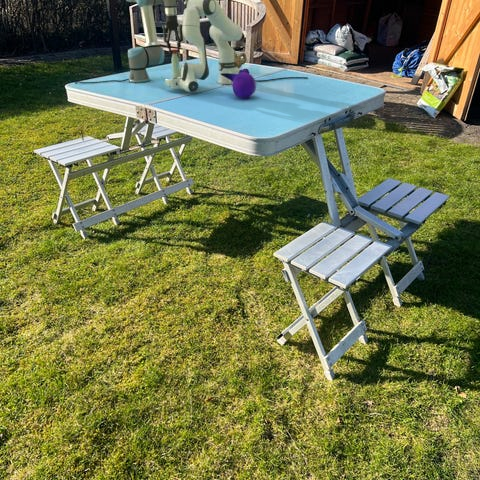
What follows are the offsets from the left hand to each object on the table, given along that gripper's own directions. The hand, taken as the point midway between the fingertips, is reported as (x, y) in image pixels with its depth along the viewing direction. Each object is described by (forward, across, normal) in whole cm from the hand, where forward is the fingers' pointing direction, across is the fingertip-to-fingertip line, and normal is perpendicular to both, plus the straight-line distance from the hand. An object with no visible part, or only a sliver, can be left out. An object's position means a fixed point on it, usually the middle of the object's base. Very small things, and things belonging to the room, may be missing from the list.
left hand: (174, 53), depth 302 cm
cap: (-2, 0, 0) cm, 2 cm away
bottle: (+23, 0, 0) cm, 23 cm away
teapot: (+23, -64, -43) cm, 81 cm away
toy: (+23, -28, +43) cm, 56 cm away
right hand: (+17, 0, -1) cm, 17 cm away
